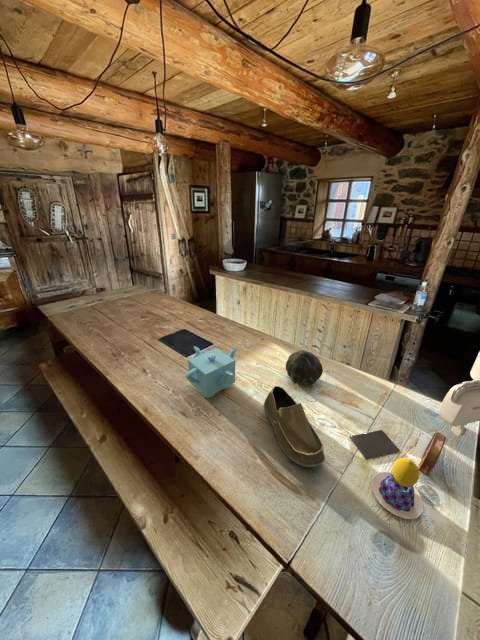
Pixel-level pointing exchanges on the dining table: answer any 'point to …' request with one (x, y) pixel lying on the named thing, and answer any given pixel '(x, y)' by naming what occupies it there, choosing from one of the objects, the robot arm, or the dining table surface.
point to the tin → (432, 453)
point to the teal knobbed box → (211, 371)
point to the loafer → (293, 429)
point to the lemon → (405, 472)
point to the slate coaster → (374, 444)
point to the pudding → (397, 496)
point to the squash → (304, 367)
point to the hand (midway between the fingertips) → (475, 428)
